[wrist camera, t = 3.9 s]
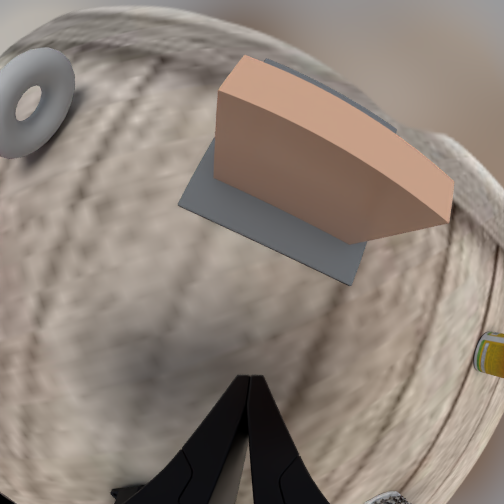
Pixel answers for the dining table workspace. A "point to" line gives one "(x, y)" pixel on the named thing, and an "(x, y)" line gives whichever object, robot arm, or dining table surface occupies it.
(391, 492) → the decorative candle
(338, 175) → the terracotta tile
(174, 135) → the dining table surface
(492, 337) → the supplement bottle
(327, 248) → the rubber mat
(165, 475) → the robot arm
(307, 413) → the dining table surface
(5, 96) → the donut
